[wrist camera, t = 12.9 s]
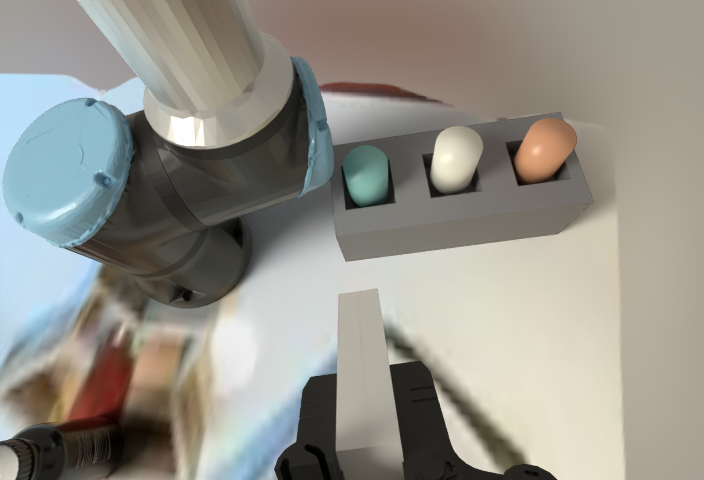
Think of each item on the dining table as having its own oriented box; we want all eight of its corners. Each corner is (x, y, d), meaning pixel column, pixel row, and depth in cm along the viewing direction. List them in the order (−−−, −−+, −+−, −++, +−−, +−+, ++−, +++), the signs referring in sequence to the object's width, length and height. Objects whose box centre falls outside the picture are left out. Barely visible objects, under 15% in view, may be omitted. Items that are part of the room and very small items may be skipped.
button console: (345, 261, 48) (335, 236, 40) (337, 184, 52) (327, 146, 44) (557, 233, 47) (593, 201, 38) (532, 156, 51) (560, 111, 42)
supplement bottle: (86, 407, 45) (-15, 416, 34) (135, 426, 44) (47, 442, 33) (56, 471, 43) (-62, 502, 32) (106, 493, 42) (2, 534, 31)
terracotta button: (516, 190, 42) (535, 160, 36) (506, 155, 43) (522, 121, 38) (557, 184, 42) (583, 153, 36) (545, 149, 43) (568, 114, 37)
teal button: (351, 212, 43) (345, 187, 37) (347, 178, 44) (341, 148, 39) (391, 207, 43) (390, 180, 37) (385, 172, 44) (384, 142, 38)
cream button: (433, 197, 41) (440, 168, 36) (426, 162, 43) (431, 129, 37) (474, 192, 41) (487, 161, 36) (466, 156, 43) (477, 122, 37)
